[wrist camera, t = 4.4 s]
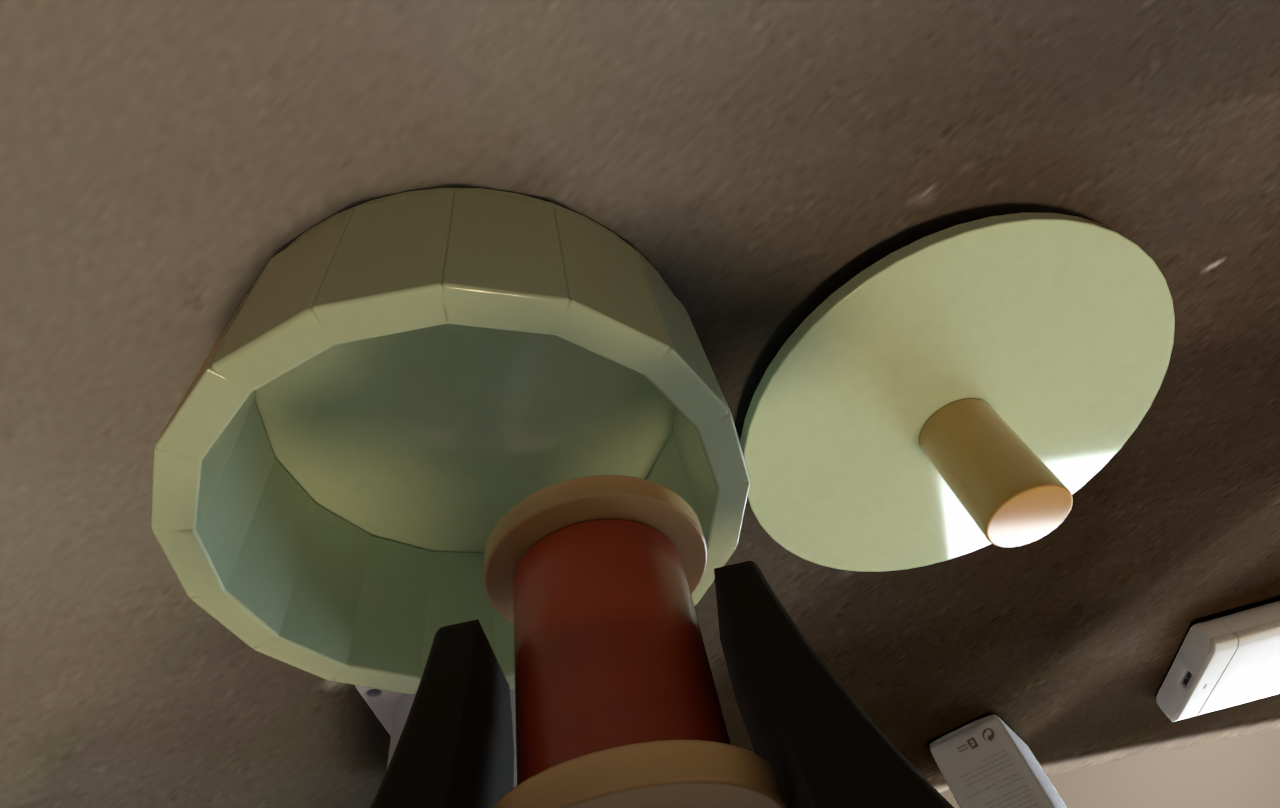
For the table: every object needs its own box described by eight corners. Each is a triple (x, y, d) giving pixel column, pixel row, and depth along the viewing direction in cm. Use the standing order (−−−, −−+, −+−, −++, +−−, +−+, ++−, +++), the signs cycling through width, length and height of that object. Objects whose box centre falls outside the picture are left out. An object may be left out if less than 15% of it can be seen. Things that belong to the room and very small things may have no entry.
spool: (708, 596, 14) (789, 876, 10) (513, 638, 14) (519, 940, 10) (693, 451, 12) (794, 751, 8) (455, 500, 11) (433, 833, 7)
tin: (713, 513, 24) (755, 637, 20) (339, 591, 23) (307, 735, 19) (684, 141, 16) (744, 227, 12) (115, 242, 15) (-15, 367, 11)
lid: (1079, 507, 27) (1175, 613, 23) (739, 580, 26) (781, 702, 22) (1219, 161, 18) (1408, 237, 15) (724, 254, 18) (787, 359, 14)
